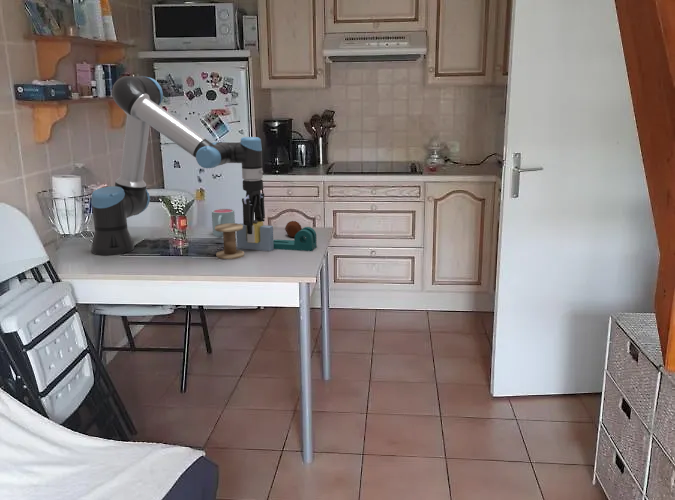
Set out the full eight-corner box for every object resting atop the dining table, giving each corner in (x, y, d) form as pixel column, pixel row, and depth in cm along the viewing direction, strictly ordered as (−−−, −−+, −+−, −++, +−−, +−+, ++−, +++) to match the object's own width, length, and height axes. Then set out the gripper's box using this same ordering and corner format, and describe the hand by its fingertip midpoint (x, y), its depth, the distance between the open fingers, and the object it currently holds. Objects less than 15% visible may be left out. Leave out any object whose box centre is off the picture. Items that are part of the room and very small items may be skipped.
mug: (215, 231, 267) (214, 208, 265) (237, 231, 267) (236, 208, 264) (208, 239, 254) (206, 215, 252) (230, 239, 254) (229, 215, 251)
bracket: (316, 247, 242) (316, 227, 240) (311, 251, 235) (311, 231, 233) (272, 244, 246) (271, 225, 244) (266, 249, 239) (265, 229, 237)
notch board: (237, 248, 240) (236, 225, 238) (241, 246, 243) (240, 223, 241) (270, 251, 235) (269, 227, 233) (273, 249, 238) (273, 226, 236)
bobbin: (211, 257, 227) (209, 228, 224) (225, 251, 236) (223, 222, 233) (235, 260, 223) (234, 230, 221) (249, 253, 233) (247, 224, 230)
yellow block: (247, 242, 237) (246, 221, 234) (254, 239, 241) (253, 218, 239) (257, 243, 235) (256, 222, 233) (263, 239, 240) (262, 219, 238)
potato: (283, 238, 255) (282, 222, 253) (287, 233, 264) (286, 218, 262) (300, 238, 254) (299, 223, 253) (303, 233, 263) (303, 218, 262)
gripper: (249, 183, 223) (252, 246, 229) (272, 176, 239) (274, 235, 245) (231, 182, 225) (234, 245, 231) (255, 175, 242) (257, 234, 248)
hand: (255, 240), depth 238 cm, fingers closed on yellow block, 5 cm apart
